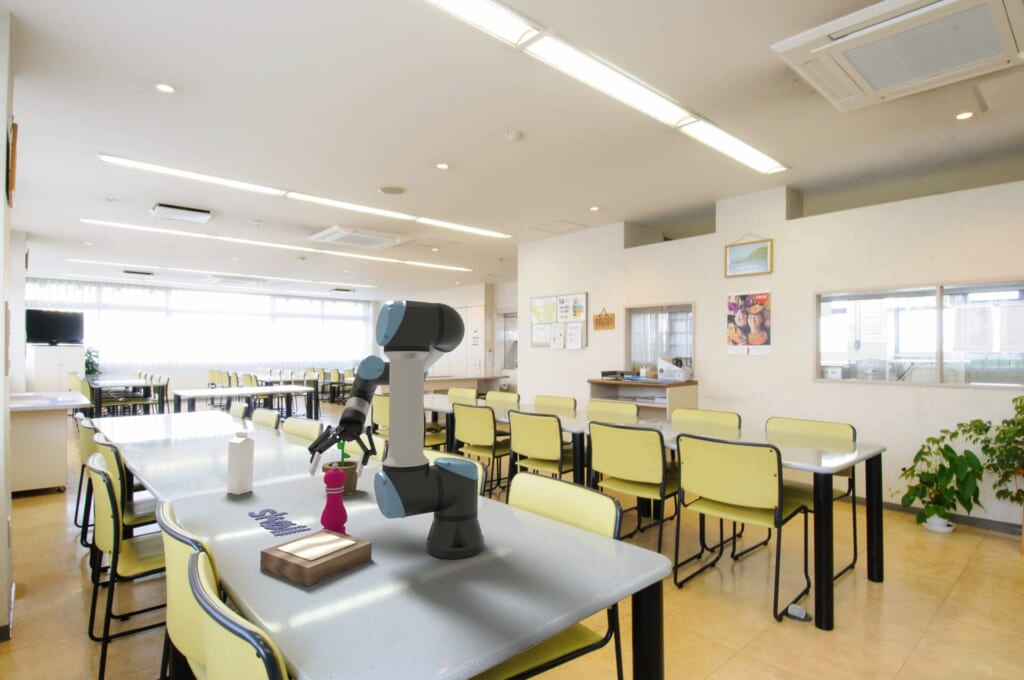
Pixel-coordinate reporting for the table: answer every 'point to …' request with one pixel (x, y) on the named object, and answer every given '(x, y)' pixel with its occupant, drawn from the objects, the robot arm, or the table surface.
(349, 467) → the flowerpot
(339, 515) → the pepper mill
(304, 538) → the walnut stand
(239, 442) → the milk
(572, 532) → the table surface
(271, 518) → the signage
